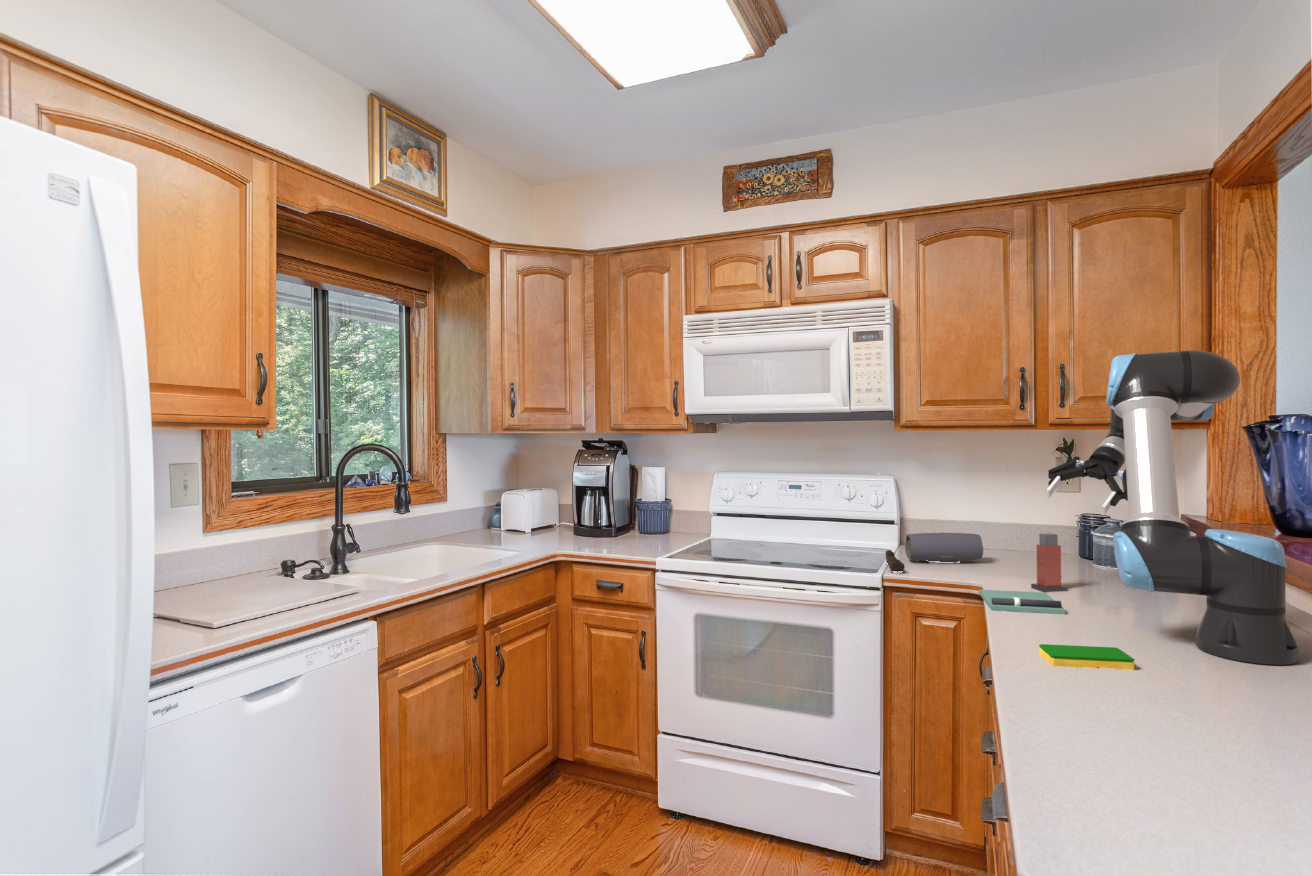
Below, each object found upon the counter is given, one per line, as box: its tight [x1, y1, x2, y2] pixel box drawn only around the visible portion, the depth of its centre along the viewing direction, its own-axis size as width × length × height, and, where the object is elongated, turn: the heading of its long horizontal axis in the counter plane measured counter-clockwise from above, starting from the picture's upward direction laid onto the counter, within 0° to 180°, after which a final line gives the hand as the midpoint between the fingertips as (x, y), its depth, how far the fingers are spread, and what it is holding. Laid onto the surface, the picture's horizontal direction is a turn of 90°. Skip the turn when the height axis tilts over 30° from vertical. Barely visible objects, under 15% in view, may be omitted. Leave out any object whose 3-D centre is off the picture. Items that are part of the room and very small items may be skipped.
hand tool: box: [885, 549, 905, 572], centre depth 218 cm, size 19×4×5 cm, turn 167°
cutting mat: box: [978, 589, 1066, 615], centre depth 172 cm, size 18×16×3 cm
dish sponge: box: [1038, 643, 1135, 670], centre depth 128 cm, size 7×14×2 cm, turn 78°
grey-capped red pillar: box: [1030, 532, 1068, 593], centre depth 186 cm, size 5×7×15 cm
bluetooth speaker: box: [904, 532, 984, 562], centre depth 226 cm, size 23×9×10 cm, turn 84°
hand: (1074, 502), depth 180 cm, fingers open, 13 cm apart
